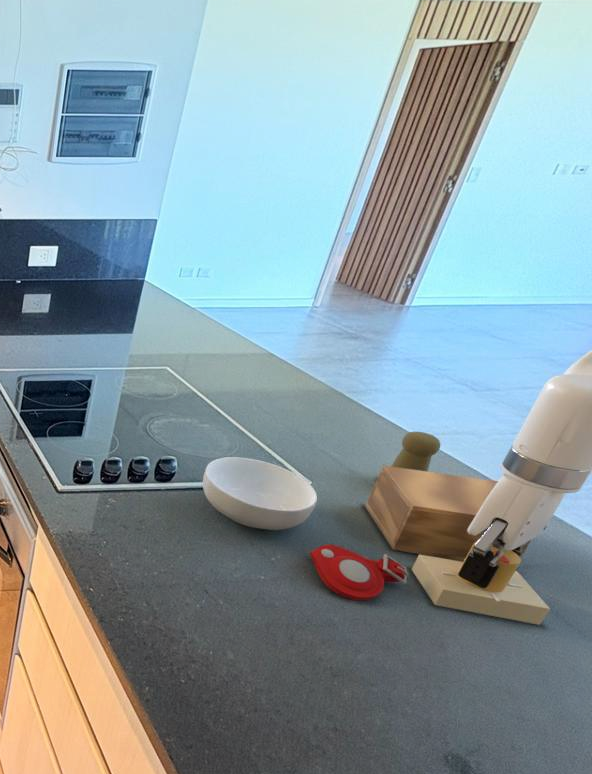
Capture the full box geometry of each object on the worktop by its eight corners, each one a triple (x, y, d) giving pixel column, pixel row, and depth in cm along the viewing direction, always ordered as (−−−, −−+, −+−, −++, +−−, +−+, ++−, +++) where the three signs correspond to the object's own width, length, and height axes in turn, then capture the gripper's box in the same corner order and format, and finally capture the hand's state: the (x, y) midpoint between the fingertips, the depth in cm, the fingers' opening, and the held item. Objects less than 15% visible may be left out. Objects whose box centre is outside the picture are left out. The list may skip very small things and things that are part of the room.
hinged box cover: (498, 485, 102) (516, 452, 99) (544, 530, 91) (565, 494, 88) (381, 469, 106) (394, 437, 104) (411, 509, 96) (428, 475, 93)
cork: (374, 476, 119) (396, 426, 114) (408, 478, 118) (432, 428, 113) (393, 494, 113) (417, 442, 108) (429, 496, 113) (455, 444, 108)
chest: (472, 523, 105) (492, 485, 102) (513, 570, 95) (537, 529, 91) (365, 506, 110) (380, 469, 106) (393, 549, 99) (411, 510, 96)
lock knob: (451, 565, 91) (466, 536, 89) (493, 572, 90) (509, 543, 88) (468, 587, 87) (485, 558, 85) (512, 595, 86) (530, 565, 83)
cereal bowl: (316, 555, 98) (330, 519, 95) (201, 533, 103) (211, 498, 100) (292, 497, 112) (304, 465, 109) (192, 481, 118) (200, 449, 114)
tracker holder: (363, 606, 87) (300, 552, 93) (349, 620, 90) (289, 567, 96) (423, 569, 89) (358, 519, 96) (408, 584, 92) (346, 535, 99)
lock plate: (505, 583, 92) (515, 567, 91) (542, 628, 84) (553, 611, 83) (409, 567, 96) (417, 550, 94) (436, 608, 88) (445, 591, 86)
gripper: (538, 441, 86) (481, 543, 95) (475, 469, 80) (419, 577, 88) (613, 466, 80) (545, 573, 89) (551, 499, 74) (484, 612, 82)
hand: (483, 574), depth 88 cm, fingers open, 5 cm apart
